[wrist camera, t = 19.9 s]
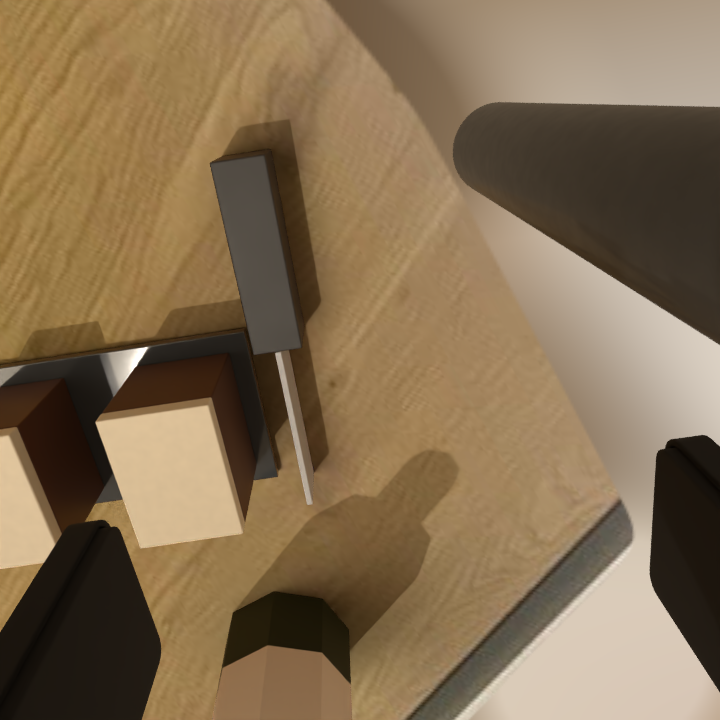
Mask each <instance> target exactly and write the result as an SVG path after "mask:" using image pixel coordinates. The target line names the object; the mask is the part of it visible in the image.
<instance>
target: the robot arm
mask: <svg viewBox="0 0 720 720" xmlns="http://www.w3.org/2000/svg"><path fill="white" fill-rule="evenodd" d="M650 578H651V582H652V586H653V588H654V591H655V593H656V594H657V596H658V598H659V599H660V601H661V602H662V604H663V605H664V607H665V608H666V610H667V611H668V613H669V615H670V616H671V618H672V619H673V621H674V622H675V624H676V625H677V627H678V628H679V630H680V632H681V633H682V635H683V636H684V638H685V639H686V641H687V642H688V644H689V645H690V647H691V648H692V650H693V652H694V653H695V655H696V656H697V658H698V659H699V661H700V662H701V664H702V665H703V667H704V669H705V670H706V672H707V673H708V675H709V676H710V678H711V679H712V681H713V682H714V684H715V686H716V687H717V689H718V690H719V692H720V446H719V445H717V444H716V443H715V442H714V441H713V440H712V439H711V438H709V437H708V436H705V435H700V436H693V437H685V438H679V439H671V440H669V441H668V442H667V444H666V447H665V449H662V450H659V451H658V453H657V456H656V471H655V487H654V505H653V521H652V539H651V556H650ZM160 658H161V642H160V638H159V635H158V632H157V630H156V627H155V624H154V621H153V619H152V616H151V613H150V611H149V608H148V605H147V602H146V600H145V597H144V594H143V591H142V589H141V586H140V583H139V581H138V578H137V575H136V572H135V570H134V567H133V564H132V562H131V559H130V556H129V553H128V551H127V548H126V545H125V543H124V540H123V537H122V534H121V532H120V530H119V529H118V528H117V527H110V525H109V524H108V523H107V522H106V521H105V520H97V521H90V522H83V523H76V524H71V525H68V526H67V528H66V529H65V530H64V532H63V533H62V535H61V536H60V538H59V540H58V541H57V543H56V544H55V546H54V548H53V549H52V551H51V552H50V554H49V556H48V557H47V559H46V560H45V562H44V563H43V565H42V567H41V568H40V570H39V571H38V573H37V575H36V576H35V578H34V579H33V581H32V583H31V584H30V586H29V587H28V589H27V591H26V592H25V594H24V595H23V597H22V599H21V600H20V602H19V603H18V605H17V606H16V608H15V610H14V611H13V613H12V614H11V616H10V618H9V619H8V621H7V622H6V624H5V626H4V627H3V629H2V630H1V632H0V720H142V717H143V714H144V710H145V707H146V704H147V701H148V698H149V694H150V691H151V688H152V685H153V682H154V678H155V675H156V672H157V669H158V665H159V662H160Z"/></svg>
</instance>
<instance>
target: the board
mask: <svg viewBox="0 0 720 720" xmlns="http://www.w3.org/2000/svg"><path fill="white" fill-rule="evenodd" d="M224 353H229V355H230V359H231V363H232V367H233V371H234V375H235V379H236V383H237V387H238V391H239V395H240V399H241V403H242V407H243V411H244V415H245V419H246V423H247V427H248V432H249V436H250V440H251V444H252V448H253V452H254V456H255V460H256V464H257V465H256V470H255V475H254V480H259V479H266V478H273V477H278V466H277V462H276V458H275V453H274V449H273V445H272V441H271V436H270V432H269V428H268V423H267V419H266V415H265V410H264V406H263V402H262V397H261V393H260V389H259V384H258V380H257V376H256V371H255V367H254V363H253V358H252V354H251V350H250V345H249V341H248V337H247V332H246V329H245V328H241V329H235V330H228V331H221V332H215V333H208V334H201V335H195V336H188V337H181V338H175V339H168V340H161V341H155V342H148V343H142V344H135V345H128V346H122V347H115V348H108V349H102V350H95V351H88V352H82V353H75V354H69V355H62V356H55V357H49V358H42V359H35V360H29V361H22V362H15V363H9V364H2V365H0V387H7V386H13V385H20V384H26V383H33V382H40V381H46V380H53V379H59V378H64V380H65V383H66V386H67V389H68V391H69V394H70V397H71V399H72V402H73V405H74V407H75V410H76V413H77V415H78V418H79V421H80V424H81V426H82V429H83V432H84V434H85V437H86V440H87V442H88V445H89V448H90V450H91V453H92V456H93V458H94V461H95V464H96V467H97V469H98V472H99V475H100V477H101V480H102V483H103V485H104V489H103V491H102V493H101V494H100V496H99V498H98V500H97V501H96V503H103V502H109V501H116V500H123V498H122V495H121V492H120V490H119V487H118V484H117V481H116V478H115V476H114V473H113V470H112V467H111V465H110V462H109V459H108V456H107V453H106V451H105V448H104V445H103V442H102V439H101V437H100V434H99V431H98V428H97V425H96V420H97V419H98V418H99V416H100V415H101V414H102V412H103V411H104V410H105V408H106V407H107V406H108V404H109V403H110V401H111V400H112V399H113V397H114V396H115V394H116V393H117V392H118V390H119V389H120V388H121V386H122V385H123V383H124V382H125V381H126V379H127V378H128V377H129V375H130V374H131V372H132V371H133V370H134V368H135V367H138V366H144V365H151V364H158V363H164V362H171V361H178V360H184V359H191V358H198V357H204V356H211V355H218V354H224ZM96 503H95V504H96Z"/></svg>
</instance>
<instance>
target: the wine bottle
mask: <svg viewBox="0 0 720 720" xmlns="http://www.w3.org/2000/svg"><path fill="white" fill-rule="evenodd" d="M212 720H352V703H351V677H350V650H349V629H348V628H347V627H346V626H345V625H344V624H343V622H342V621H341V620H340V619H339V618H338V617H337V615H336V614H335V613H334V612H333V611H332V609H331V608H330V607H329V606H328V605H327V604H326V602H325V601H324V600H323V599H319V598H312V597H305V596H298V595H292V594H285V593H278V592H272V593H271V594H269V595H267V596H265V597H263V598H261V599H259V600H257V601H255V602H253V603H251V604H249V605H248V606H246V607H244V608H242V609H240V610H238V611H236V612H234V613H233V615H232V620H231V625H230V629H229V634H228V639H227V644H226V648H225V654H224V659H223V664H222V670H221V675H220V680H219V686H218V691H217V696H216V702H215V707H214V712H213V718H212Z"/></svg>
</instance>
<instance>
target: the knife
mask: <svg viewBox="0 0 720 720" xmlns="http://www.w3.org/2000/svg"><path fill="white" fill-rule="evenodd" d="M210 167H211V171H212V176H213V180H214V184H215V189H216V193H217V198H218V202H219V206H220V211H221V215H222V219H223V224H224V228H225V233H226V237H227V241H228V246H229V250H230V255H231V259H232V263H233V268H234V272H235V276H236V281H237V285H238V290H239V294H240V298H241V303H242V307H243V312H244V316H245V320H246V325H247V329H248V333H249V338H250V342H251V347H252V351H253V354H254V355H259V354H265V353H272V352H275V355H276V360H277V365H278V370H279V374H280V379H281V384H282V388H283V393H284V398H285V402H286V407H287V412H288V417H289V421H290V426H291V431H292V435H293V440H294V445H295V449H296V454H297V459H298V464H299V468H300V473H301V478H302V482H303V487H304V492H305V496H306V501H307V505H310V504H313V482H314V471H313V466H312V461H311V456H310V451H309V446H308V441H307V437H306V432H305V427H304V422H303V417H302V412H301V407H300V402H299V397H298V392H297V387H296V382H295V377H294V372H293V367H292V362H291V357H290V353H289V350H292V349H299V348H302V344H303V335H304V321H303V316H302V311H301V305H300V300H299V295H298V289H297V284H296V279H295V274H294V268H293V263H292V258H291V252H290V247H289V242H288V236H287V231H286V226H285V220H284V215H283V210H282V205H281V199H280V194H279V189H278V183H277V178H276V173H275V167H274V162H273V157H272V151H271V149H266V150H260V151H253V152H247V153H240V154H234V155H227V156H222V157H220V158H218V159H216V160H214V161H212V162H211V163H210Z"/></svg>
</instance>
